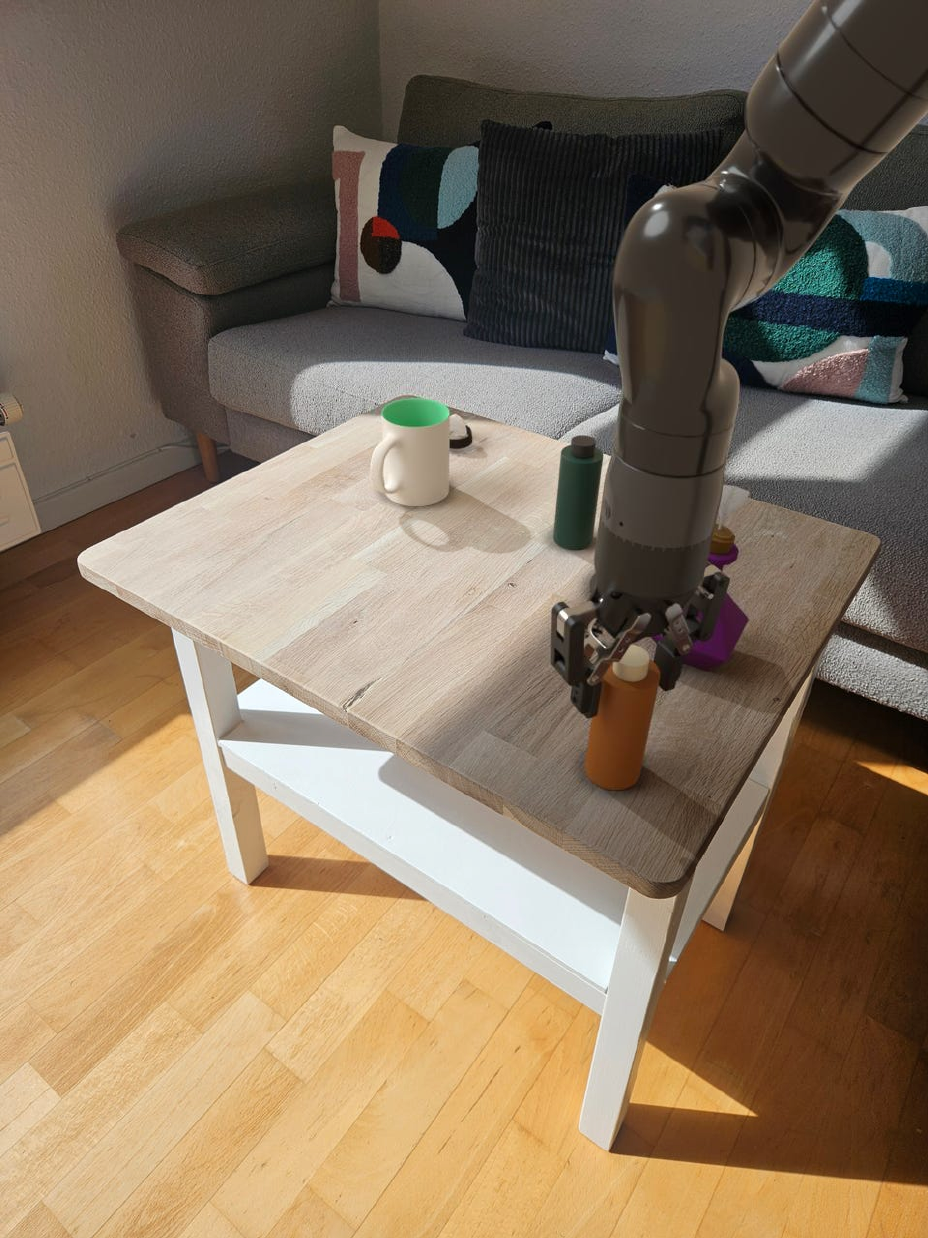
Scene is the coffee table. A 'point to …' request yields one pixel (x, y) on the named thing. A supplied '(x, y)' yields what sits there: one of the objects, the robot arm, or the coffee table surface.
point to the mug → (413, 452)
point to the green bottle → (577, 493)
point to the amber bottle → (622, 721)
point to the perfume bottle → (730, 614)
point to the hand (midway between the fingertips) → (624, 696)
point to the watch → (460, 433)
